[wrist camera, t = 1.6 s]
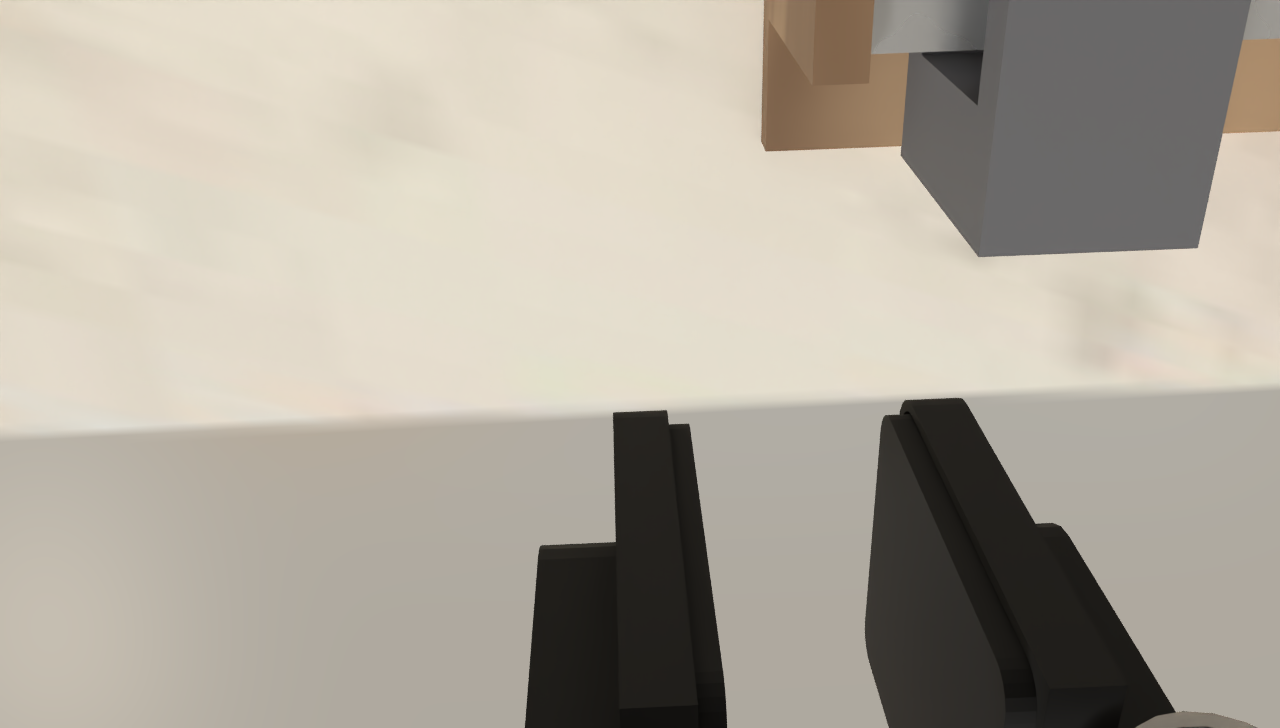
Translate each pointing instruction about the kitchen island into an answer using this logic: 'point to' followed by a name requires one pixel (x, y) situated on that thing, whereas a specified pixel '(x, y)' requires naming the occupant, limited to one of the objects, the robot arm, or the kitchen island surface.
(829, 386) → the kitchen island surface
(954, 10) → the rail
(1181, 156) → the notched grey block
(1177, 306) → the kitchen island surface
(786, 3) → the wooden rail stand
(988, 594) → the robot arm
